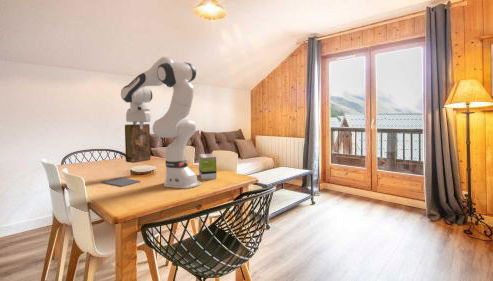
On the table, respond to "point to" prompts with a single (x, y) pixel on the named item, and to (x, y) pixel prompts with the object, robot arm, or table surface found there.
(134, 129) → the book
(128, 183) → the mat
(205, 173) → the tea box
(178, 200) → the table surface
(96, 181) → the table surface
